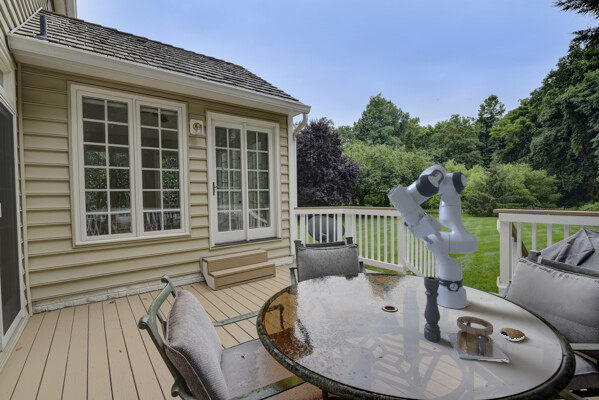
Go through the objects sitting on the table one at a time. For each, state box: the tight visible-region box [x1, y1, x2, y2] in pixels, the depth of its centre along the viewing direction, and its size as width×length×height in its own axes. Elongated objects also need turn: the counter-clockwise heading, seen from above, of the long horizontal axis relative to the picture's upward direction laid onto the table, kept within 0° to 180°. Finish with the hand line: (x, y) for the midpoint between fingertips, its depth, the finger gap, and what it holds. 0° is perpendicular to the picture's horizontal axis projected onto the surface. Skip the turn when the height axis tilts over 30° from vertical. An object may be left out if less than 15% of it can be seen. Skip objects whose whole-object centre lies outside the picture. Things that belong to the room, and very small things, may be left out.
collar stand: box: [445, 315, 510, 361], centre depth 105 cm, size 16×16×10 cm
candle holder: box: [423, 275, 442, 343], centre depth 113 cm, size 6×6×25 cm
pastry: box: [498, 327, 526, 339], centre depth 112 cm, size 9×7×4 cm
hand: (436, 243), depth 117 cm, fingers open, 8 cm apart
